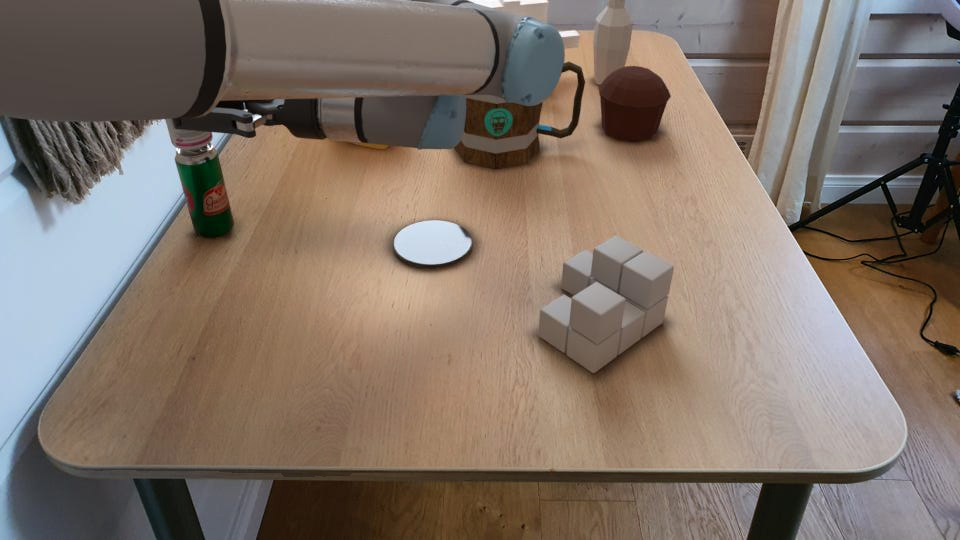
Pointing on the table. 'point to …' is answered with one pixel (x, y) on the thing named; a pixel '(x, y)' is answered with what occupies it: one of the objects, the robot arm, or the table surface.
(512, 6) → the blocky voxel creature
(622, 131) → the muffin
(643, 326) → the puzzle cube
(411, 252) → the round mirror
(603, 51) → the low poly bottle
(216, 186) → the soda can
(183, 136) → the pill bottle
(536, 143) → the mug
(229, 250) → the table surface
